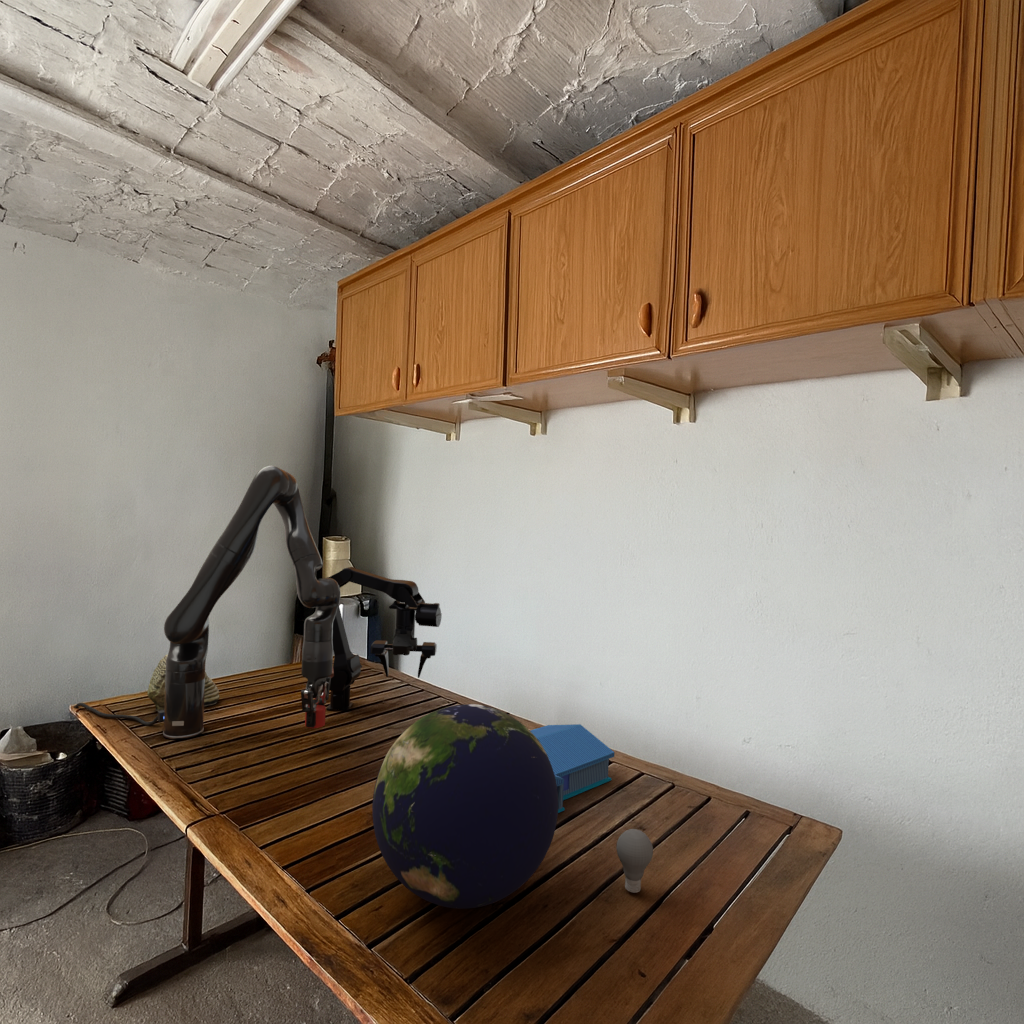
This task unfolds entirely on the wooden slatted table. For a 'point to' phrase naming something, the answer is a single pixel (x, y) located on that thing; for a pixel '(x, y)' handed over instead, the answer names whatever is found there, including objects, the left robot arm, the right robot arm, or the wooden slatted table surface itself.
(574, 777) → the model building
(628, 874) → the light bulb
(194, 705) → the left robot arm
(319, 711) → the canister
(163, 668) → the fossil
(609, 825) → the wooden slatted table surface
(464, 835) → the globe
